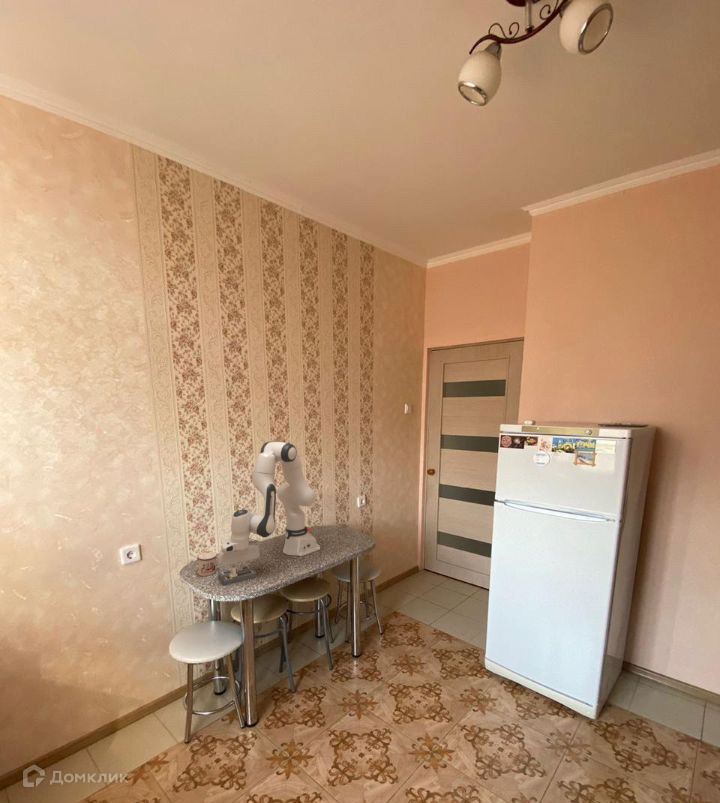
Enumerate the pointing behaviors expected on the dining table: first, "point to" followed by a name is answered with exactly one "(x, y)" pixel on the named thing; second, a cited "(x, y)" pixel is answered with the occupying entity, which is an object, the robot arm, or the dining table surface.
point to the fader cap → (233, 571)
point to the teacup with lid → (207, 563)
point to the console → (241, 575)
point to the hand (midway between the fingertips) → (239, 570)
